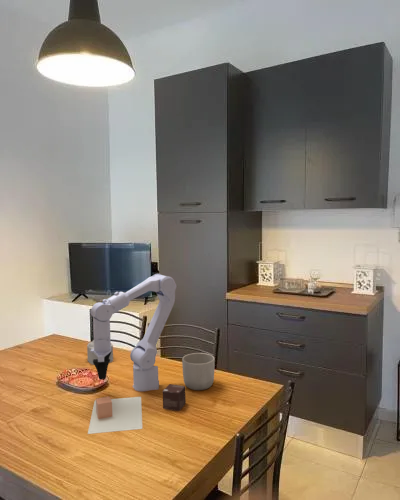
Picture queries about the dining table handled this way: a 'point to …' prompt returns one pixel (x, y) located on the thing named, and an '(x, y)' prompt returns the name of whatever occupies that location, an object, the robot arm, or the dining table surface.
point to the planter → (198, 370)
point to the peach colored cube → (103, 407)
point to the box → (174, 397)
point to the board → (118, 416)
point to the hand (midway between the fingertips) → (103, 374)
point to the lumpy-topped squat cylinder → (92, 355)
